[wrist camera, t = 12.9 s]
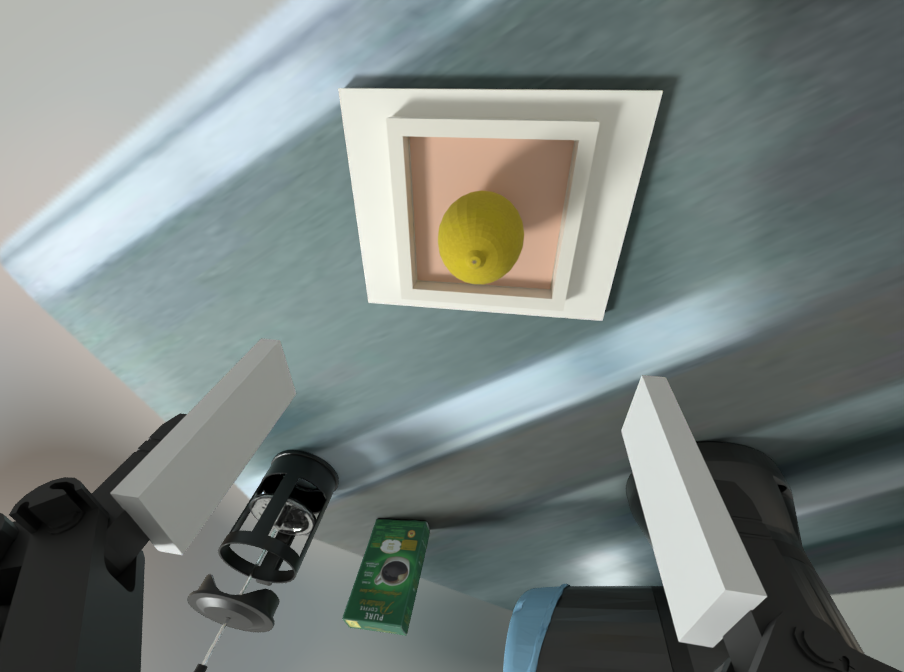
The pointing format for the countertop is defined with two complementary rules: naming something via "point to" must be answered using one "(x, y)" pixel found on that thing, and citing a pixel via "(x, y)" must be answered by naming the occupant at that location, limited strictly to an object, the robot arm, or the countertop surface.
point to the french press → (268, 542)
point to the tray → (497, 189)
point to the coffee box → (388, 577)
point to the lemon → (480, 237)
